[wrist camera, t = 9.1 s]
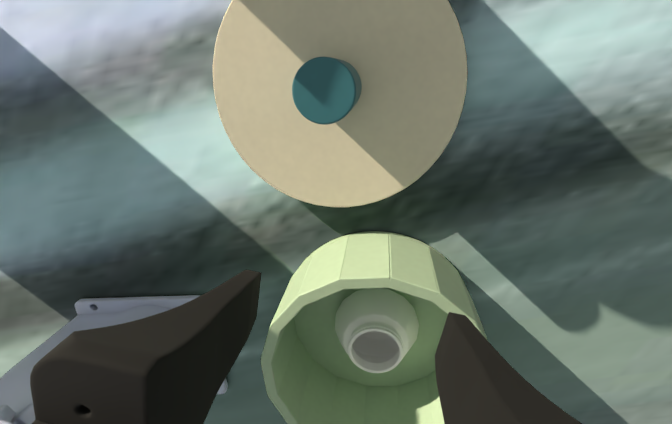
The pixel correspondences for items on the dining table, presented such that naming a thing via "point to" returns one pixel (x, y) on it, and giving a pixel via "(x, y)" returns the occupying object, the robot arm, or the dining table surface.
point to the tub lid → (340, 93)
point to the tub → (329, 355)
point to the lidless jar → (376, 328)
